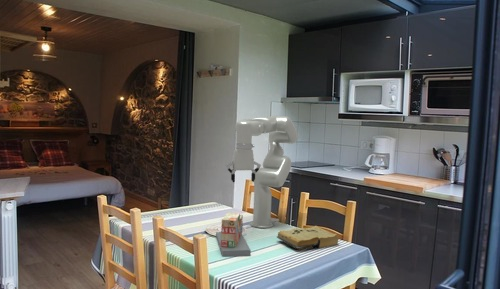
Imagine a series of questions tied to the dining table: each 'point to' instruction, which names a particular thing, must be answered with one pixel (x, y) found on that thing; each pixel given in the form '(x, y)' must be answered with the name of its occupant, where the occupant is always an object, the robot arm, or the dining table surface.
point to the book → (308, 238)
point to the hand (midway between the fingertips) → (243, 181)
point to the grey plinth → (239, 249)
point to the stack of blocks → (231, 229)
